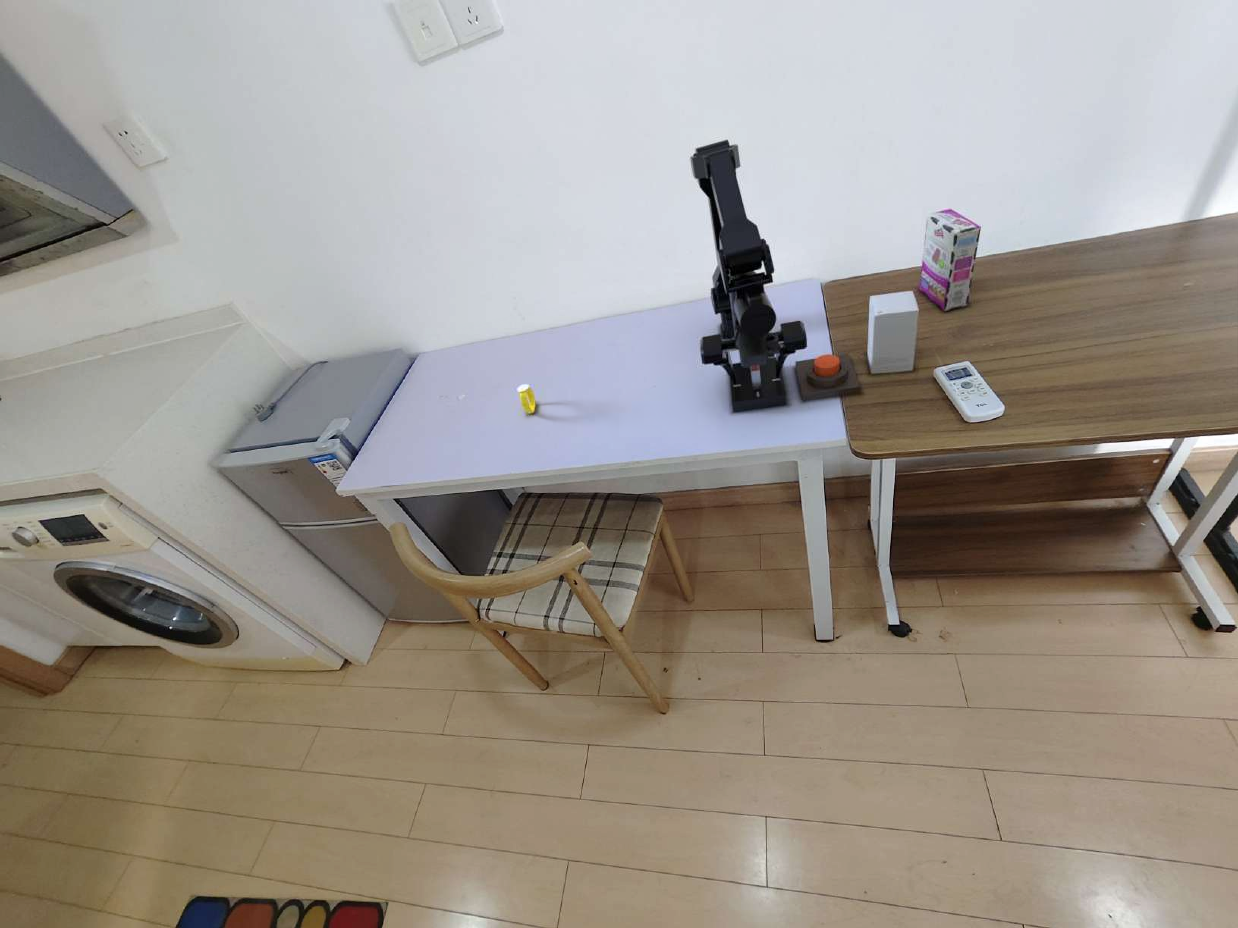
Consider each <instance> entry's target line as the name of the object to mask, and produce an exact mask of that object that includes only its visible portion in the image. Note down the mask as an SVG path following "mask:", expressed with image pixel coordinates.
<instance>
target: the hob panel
mask: <svg viewBox="0 0 1238 928" xmlns="http://www.w3.org/2000/svg"><path fill="white" fill-rule="evenodd" d="M775 361H776V356H775V357H770V358H769V361H768V363H767V364H765V365H759V369H760V378H761V387H762V389H761V390H754V391H753V385H752V377H751V369H750V367H748V368H744V367H742V366H741V363H740V362H734V363H732V364H733V367H734V371H735V375H736V384H734V383H733V381H732V380H731V378H730V377H729V386H730V398H731V399H730V401H731V407H732V412H733V413H739V412H748V411H755V410H764V409H771V408H779V407H785V406H787V405H788V402H787V401H788V400H787V392H786V388H785V387H786V386H785V383H784V381H785V380H784V377H783V371H782V370H781V373H780V376H779V378H776V370H775Z"/></svg>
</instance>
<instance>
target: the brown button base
mask: <svg viewBox="0 0 1238 928" xmlns="http://www.w3.org/2000/svg"><path fill="white" fill-rule="evenodd" d="M849 354H850V353H843V354H841V353H840V354H834V355H835V356H837V357H838V358H839V372H838V373H837V374H835V375H833V376H827V377H824V376H818V375H817V374H816V373H815V369H814V361H815V359H816V358H817V357H815V358H810V359H809V358H808V359H803V360H797V361H795V372H796V376H797V381H798V385H799V389H800V393H801V398H802V401H803V402H807V401H808V402H810V401H816V400H824V399H830V398H839V397H846V396H853V395H859V394H861V386H860V383H859V380H858V377H857V375H856V371H855V368H854V365H853V363H852V359H851V357H850V355H849Z"/></svg>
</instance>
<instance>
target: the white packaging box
mask: <svg viewBox="0 0 1238 928" xmlns="http://www.w3.org/2000/svg"><path fill="white" fill-rule="evenodd" d="M917 302H918V301H917V299H916V296H915V294H914V291H913V290H908V291H899V292H891V293H883V294H875V295H870V296H869V307H868V330H867V331H868V332H867V333H868V335H867V352H866V353H867V359H868V366H869V371H870V374H871V375H873V374H874V375H875V374H889V373H903V372H911V371H913V370H914V363H915V362H914V361H915V353H916V343H917V332H918V323H919V312H920V310H919V306H918V303H917Z"/></svg>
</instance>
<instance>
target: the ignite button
mask: <svg viewBox="0 0 1238 928" xmlns="http://www.w3.org/2000/svg"><path fill="white" fill-rule="evenodd" d="M835 355H836V354H830V353H829V354H822V355H818V357H815V358H816V359H815V358H814V359H815V361H814V369H815V373H816V374H817V375H818V376H824V377H827V376H833V375H835V374H837V373H838V372H839V358H838V357H837V356H835Z"/></svg>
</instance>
